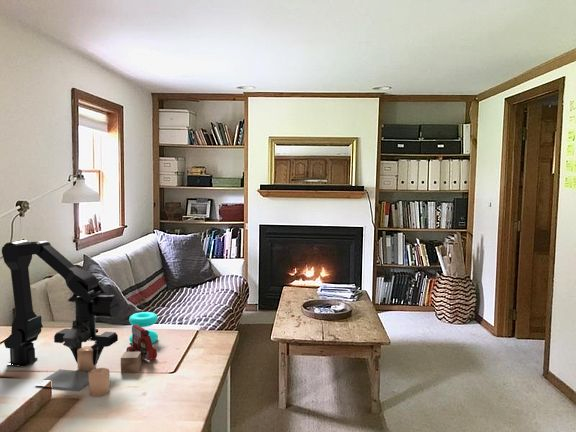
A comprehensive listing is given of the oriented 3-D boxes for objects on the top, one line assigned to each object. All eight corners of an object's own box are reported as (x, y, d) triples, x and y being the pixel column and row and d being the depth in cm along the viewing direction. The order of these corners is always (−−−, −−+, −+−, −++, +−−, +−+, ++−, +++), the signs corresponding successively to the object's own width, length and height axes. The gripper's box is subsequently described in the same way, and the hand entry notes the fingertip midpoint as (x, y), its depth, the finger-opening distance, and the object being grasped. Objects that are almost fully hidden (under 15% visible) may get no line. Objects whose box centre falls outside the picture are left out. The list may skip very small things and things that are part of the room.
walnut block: (121, 373, 149) (120, 357, 148) (125, 367, 154) (124, 351, 153) (137, 373, 149) (137, 357, 149) (141, 366, 154) (140, 351, 154)
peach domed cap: (85, 395, 134) (84, 374, 133) (96, 387, 139) (95, 367, 139) (102, 397, 133) (102, 376, 132) (113, 389, 138) (112, 368, 138)
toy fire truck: (140, 367, 154) (139, 335, 153) (124, 356, 163) (123, 326, 162) (160, 361, 158) (160, 330, 157) (143, 351, 168) (142, 321, 167)
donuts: (134, 310, 181) (160, 311, 181) (134, 336, 182) (161, 337, 182) (124, 319, 171) (153, 319, 171) (125, 346, 172) (153, 346, 172)
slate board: (35, 386, 139) (35, 384, 139) (59, 371, 150) (59, 369, 150) (79, 391, 137) (79, 388, 137) (101, 375, 148) (101, 373, 147)
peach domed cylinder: (73, 370, 150) (73, 351, 149) (84, 363, 155) (83, 345, 155) (89, 371, 149) (89, 353, 148) (99, 365, 154) (99, 346, 154)
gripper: (41, 321, 144) (43, 371, 146) (98, 325, 141) (99, 377, 142) (64, 310, 155) (66, 357, 157) (118, 314, 152) (119, 362, 153)
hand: (86, 363), depth 152 cm, fingers closed on peach domed cylinder, 5 cm apart
